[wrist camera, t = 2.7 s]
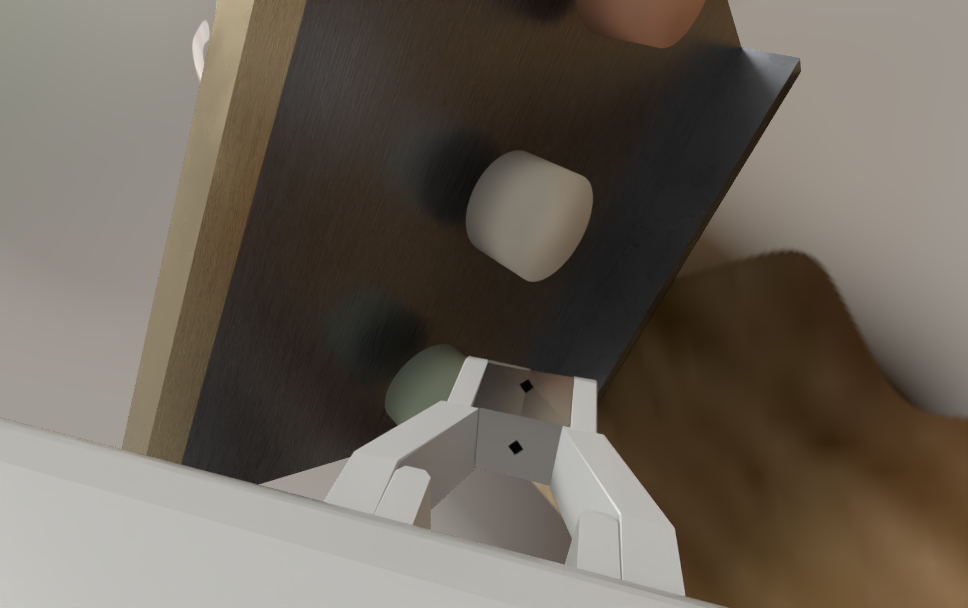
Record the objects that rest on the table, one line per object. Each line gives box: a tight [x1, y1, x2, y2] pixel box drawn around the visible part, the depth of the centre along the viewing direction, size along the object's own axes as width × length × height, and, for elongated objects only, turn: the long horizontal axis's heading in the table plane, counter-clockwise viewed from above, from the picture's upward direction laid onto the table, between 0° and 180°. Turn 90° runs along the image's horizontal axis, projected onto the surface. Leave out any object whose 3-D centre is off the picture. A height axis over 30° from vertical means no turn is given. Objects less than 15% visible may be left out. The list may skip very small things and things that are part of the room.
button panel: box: [122, 0, 801, 484], centre depth 26 cm, size 12×32×33 cm, turn 149°
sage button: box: [385, 344, 466, 425], centre depth 22 cm, size 3×5×5 cm, turn 149°
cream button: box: [466, 150, 593, 282], centre depth 19 cm, size 3×5×5 cm, turn 149°
